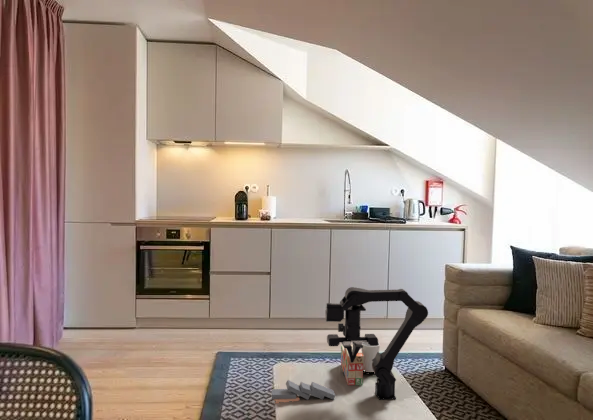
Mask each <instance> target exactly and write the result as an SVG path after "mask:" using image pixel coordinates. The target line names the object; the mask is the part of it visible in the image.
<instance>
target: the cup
mask: <svg viewBox="0 0 593 420" xmlns="http://www.w3.org/2000/svg"><path fill="white" fill-rule="evenodd" d="M362 345H363V348H361V351H362V354H363V356H364V361H363V370H365V371H366V372H374V371H373V368H372V363H373V361H372V359H374V358H375V356H376V354H377V352H379V353H380V347H381V343H380V342H379V341H378V345H377V346H370V345H369V344H368V342H363V343H362Z"/></svg>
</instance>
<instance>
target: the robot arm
mask: <svg viewBox="0 0 593 420" xmlns="http://www.w3.org/2000/svg"><path fill="white" fill-rule="evenodd" d="M370 302H371V303H372V302H375V303H376V302H402V303H403V304H404V305H405V306H406V307H407V309H406V311H405V317H404V321H402V324H400V326H399V328H398V330H397V331H396V333H395V334H394V336H393V338H392V339H391V340H390V342H389V344H388V345H387V347H386V349H385V350H384V351H383V352H381V353H380V351H379V352H377V354H376V356H375V358H374V359H372V361H373V363H372V368H373V371H374V375H375V376H376V382H375V386H374V388H375V389H374V391H375V393H374V394H375V395H376V396H377V398H378V400H396V399H397V396H396V395H395V392H396V388H395V387H396V381H397V379H396V377H395V375H394V373H393V372H392V370H393V367H394V362H395V359H396V358H397V356H398V355H399V353H400V352H401V350H402V349H403V347H404V345H405V344H406V342H407V340H408V339H409V337H410V335H411V334H412V333H413V331H414V329H416V328H417V327H418V326H420V325H421V324H423V322H424V321H425V320H426V319H427V318H428V315H429V312H428V311H429V309H428V308H427V307H426V306H425V305H424V304H423V303H422V302H421V301H419V300H415V299H414V298H412V297H411V296H410V294H409V293H408V292H407V290H405V289H403V288H399V289H365V288H360V287H354V286H351V287H350V286H349V287H347V289H346V290H345V293H344V296H343V298H342V299H341V300H340V301H339V303H331V302H327V303H326V307H325V316H324V317H325V322H333V323H335V322H336V323H337V322H338V324H337V332H338V333H342V335H343V336H338V334H336V333H335V334H334V333H333V334H328V335H327V336H326V342H327V344H328V346H329V347H339V345H340V344H341V345H343V347H344V348H346V349H347V351H348V354H349V358H350V361H351V363H353V362H354V360H355V357H356V355H357V353H358V352H359V350H360V349H361V350H362V348H363V345H362V343H363V342H368V344H369V345H370V346H377V345H378V342H379V338H378V337H377V335H375V334H374V333H365V334H364V336H361V312H366V311H367V310H366V307H365V305H364V304H367V303H370ZM343 320H344V323H340V322H342V321H343ZM351 343H352V344H351ZM351 345H353V349H352V346H351Z"/></svg>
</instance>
